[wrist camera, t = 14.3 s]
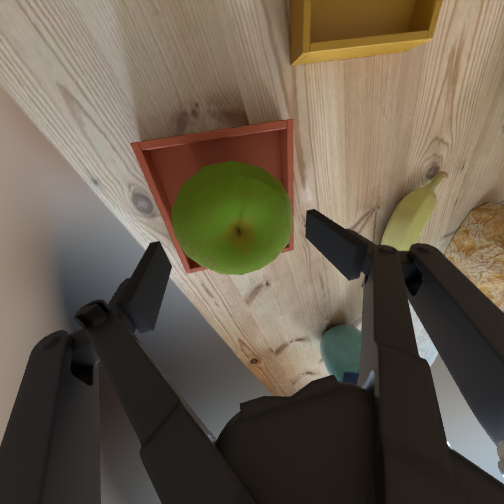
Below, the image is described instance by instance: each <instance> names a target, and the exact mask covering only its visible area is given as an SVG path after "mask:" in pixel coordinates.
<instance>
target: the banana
mask: <svg viewBox="0 0 504 504" xmlns="http://www.w3.org/2000/svg"><path fill="white" fill-rule="evenodd" d="M447 177H448V174H447V173H446V172H441V171H440V172H437V173H436V174H435V175H434V178H433V179H432V181H431V182H430V183H429V184H428V185H426V186H425V187H422V188H419V189H416V190H414V191H412V192H410V193H409V194H408V195H406V196H405V197H404V198H403V199H402V200H401V201H400V202H399V204H398V205H397V207H396V208H395V210H394V212H393V214H392V216H391V218H390V220H389V222H388V224H387V226H386V229H385V231H384V234H383V237H382V241H381V245H388V246H391V247H394V248H395V249H397V250H398V251H409V248H410V246H411V245H412V244H416V243H417V241H418V239H419V237H420V234H421V232H422V230H423V228H424V226H425V224H426V223H427V221H428V219H429V217H430V215H431V213H432V212H433V209H434V207H435V204H436V195H435V193H434V190H435V188H436V186H437V185H438V184H439V183H441V182H442V181H444V180H445V179H446V178H447Z"/></svg>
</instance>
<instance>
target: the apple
mask: <svg viewBox="0 0 504 504" xmlns="http://www.w3.org/2000/svg"><path fill="white" fill-rule="evenodd" d="M171 214H172V221H173V229H174V236H175V237H176V239H177V241H178V242H179V244H180V246H181V247H182V249H183V251H184V253H185V254H186V255H187V256H188V257H190V258H191V259H192V260H194V261H195V262H197V263H198V264H199V265H201V266H202V267H204V268H207V269H210V270H212V271H215V272H218V273H220V274H233V275H243V274H246V273H249V272H252V271H255V270H258V269H261V268H262V267H264V266H265V265H267V264H268V263H270V262H272V261H273V260H275V259H276V258H277V257H278V256H279V255H280V253H281V252H282V251H283V250H284V248H285V247H286V246H287V245H288V243H289V241H290V236H291V231H292V227H293V214H292V203H291V200H290V198H289V196H288V194H287V192H286V190H285V188H284V186H283V184H282V182H281V181H280V180H279V179H277V178H276V177H274V176H273V175H271V174H270V173H268V172H267V171H265V170H264V169H262V168H261V167H258V166H254V165H250V164H245V163H241V162H237V161H227V162H222V163H217V164H212V165H207V166H203V167H202V168H201V169H200V170H199V171H198V172H197V173H196V174H194V175H193V176H192V177H191V178H189V179H188V180H187V181H185V182H184V184H183V185H182V186H181V189H180V191H179V193H178V196H177V198H176V201H175V203H174V205H173V208H172V210H171Z"/></svg>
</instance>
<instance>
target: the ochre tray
mask: <svg viewBox="0 0 504 504" xmlns="http://www.w3.org/2000/svg"><path fill="white" fill-rule="evenodd" d="M442 1H443V0H290V53H291V65H298V64H306V63H315V62H323V61H331V60H340V59H348V58H357V57H365V56H373V55H382V54H390V53H399V52H405V51H407V50H409V49H411V48H414V47H416V46H418V45H420V44H422V43H424V42H426V41H428V40H431V39H432V37H433V33H434V30H435V26H436V23H437V19H438V16H439V12H440V9H441V5H442Z"/></svg>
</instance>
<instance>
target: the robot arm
mask: <svg viewBox="0 0 504 504" xmlns="http://www.w3.org/2000/svg"><path fill="white" fill-rule="evenodd" d="M305 237H306V238H307V239H308V240H309V241H310V242H311V243H312V244H313V245H314V246H315V247H316V248H317V249H318V250H319V251H320V252H321V253H322V254H323V255H324V256H325V257H326V258H327V259H328V260H329V261H330V262H331V263H332V264H333V265H334V266H335V267H336V268H337V269H338V270H339V271H340V272H341V273H342V274H343V275H344V276H345V277H346V278H347V279H348V280H353V279H357V278H359V277H360V273H361V271H362V272H363V273H364V274H365V277H364V280H363V284H362V287H364V289H363V309H362V330H361V350H360V370H359V377H358V382H357V385H354V384H351V383H348V382H342V381H337V379H336V377H335V375H334V374H333V375H330V376H327V377H324V378H321V379H317V380H314V381H312V382H310V383H309V384H307V385H306V386H305V387H303V388H302V389H301V390H299V391H298V392H297V393H295V394H294V395H292V396H290V397H281V396H263V397H260V398H257V399H253V400H250V401H247V402H244V403H240V410H241V411H240V412H239V413H237V414H236V415H235V416H234V417H233V418H232V419H231V420H230V421H229V422H228V423H227V424H226V426H225V427H224V429H223V430H222V432H221V433H220V435H219V437H218V439H217V440H216V438H215V437H214V436H213V435H212V433H211V432H210V431H209V430H208V429H207V427H206V426H205V425H204V424H203V423H202V421H201V420H200V419H199V417H198V416H197V415H196V414H195V412H194V411H193V410H192V409H191V407H190V406H189V405H188V403H187V402H186V401H185V399H184V398H183V397H182V396H181V394H180V393H179V392H178V390H177V389H176V388H175V387H174V385H173V384H172V383H171V382H170V380H169V379H168V378H167V376H166V375H165V374H164V372H163V371H162V370H161V369H160V367H159V366H158V365H157V363H156V362H155V361H154V360H153V358H152V357H151V356H150V354H149V353H148V352H147V351H146V349H145V348H144V347H143V345H142V344H141V343H140V342H139V340H138V339H137V338H136V336H135V335H134V332H135V330H136V329H137V330H138V331H139V332H140V333H141V334H142V333H146V332H150V331H153V330H154V328H155V324H156V321H157V317H158V314H159V310H160V307H161V303H162V300H163V296H164V293H165V289H166V286H167V282H168V279H169V275H170V272H171V268H172V266H171V264H170V261H169V259H168V257H167V255H166V253H165V251H164V249H163V247H162V245H161V243H160V241H157V242H153V243H150V244H149V246H148V248H147V250H146V251H145V253H144V255H143V257H142V259H141V260H140V262H139V264H138V266H137V268H136V269H135V271H134V273H133V275H132V276H131V278H127V279H125V280H124V281H123V282H122V283H121V284H120V286H119V287H118V289H117V291H116V292H115V294H114V296H113V297H112V299H111V300H110V302H109V304H108V305H107V303H106V302H105V301H104V300H95V301H92V302H90V303H88V304H86V305H84V306H83V307H81V308H80V309H79V310H78V311H77V312H76V314H75V315H74V320H75V321H76V322H77V323H79V324H80V325H81V326H82V327H83V329H81V330H78V331H76V332H74V333H72V334H69V333H68V332H66V331H64V330H60V331H56V332H54V333H51V334H50V335H48V336H46V337H44V338H43V339H42V340H41V341H39V343H37V345H36V346H35V347H34V348H33V350H32V352H31V354H30V357H29V361H28V363H27V366H26V370H25V373H24V376H23V379H22V382H21V385H20V388H19V391H18V394H17V397H16V400H15V403H14V407H13V409H12V413H11V416H10V419H9V422H8V424H7V428H6V431H5V434H4V437H3V440H2V443H1V446H0V504H101V494H100V433H99V432H100V431H99V371H98V362H99V361H101V363H102V365H103V367H104V369H105V371H106V373H107V375H108V377H109V379H110V381H111V383H112V385H113V387H114V389H115V391H116V393H117V396H118V398H119V399H120V402H121V404H122V406H123V408H124V409H125V412H126V414H127V416H128V418H129V420H130V422H131V424H132V426H133V428H134V430H135V432H136V434H137V436H138V438H139V440H140V443H141V449H140V456H141V459H142V462H143V464H144V466H145V469H146V471H147V473H148V475H149V477H150V479H151V481H152V484H153V486H154V488H155V490H156V492H157V494H158V496H159V499H160V501H161V503H162V504H504V484H503V483H501V482H500V481H499V480H497V479H496V478H494V477H493V476H491V475H490V474H488V473H487V472H485V471H484V470H482V469H481V468H479V467H478V466H477V465H475V464H474V463H472V462H471V461H469V460H468V459H466V458H465V457H464V456H462V455H461V454H459V453H458V452H456V451H455V450H453V449H452V448H450V447H449V446H448V444H447V440H446V436H445V431H444V427H443V422H442V418H441V414H440V410H439V405H438V401H437V396H436V392H435V387H434V383H433V379H432V374H431V370H430V367H429V364H428V362H427V361H426V359H423V358H420V356H419V354H418V349H417V344H416V339H415V334H414V328H413V323H412V318H411V313H410V308H409V303H408V300H409V302H410V303H411V305H412V307H413V309H414V310H415V312H416V314H417V316H418V317H419V319H420V321H421V323H422V324H423V326H424V328H425V330H426V332H427V333H428V335H429V337H430V339H431V340H432V342H433V344H434V346H435V347H436V349H437V351H438V353H439V354H440V356H441V358H442V360H443V361H444V363H445V365H446V367H447V368H448V370H449V372H450V374H451V375H452V377H453V379H454V381H455V382H456V384H457V386H458V387H459V389H460V391H461V393H462V395H463V396H464V398H465V400H466V402H467V404H468V405H469V407H470V408H471V410H472V412H473V413H474V415H475V416H476V418H477V420H478V421H479V423H480V424H481V425H482V427H483V428H484V430H485V431H486V433H487V434H488V435H489V436H490V438H491V439H492V441H493V442H494V443H495V444H496V446H497V453H498V456H499V458H500V461H499V462H498V468H499V470H500V472H501V474H502V475H503V477H504V313H503V312H502V311H501V310H500V309H499V308H498V307H497V306H496V305H495V304H494V303H493V302H492V301H491V300H490V299H489V298H488V297H487V296H486V295H485V294H484V293H483V292H482V291H481V290H480V289H478V288H477V287H476V286H475V285H474V284H473V283H472V282H471V281H470V280H469V279H468V278H467V277H466V276H465V275H464V274H463V273H462V272H461V271H460V270H459V269H458V268H457V267H456V266H455V265H454V264H453V263H452V262H451V261H450V260H448V259H447V258H446V257H445V256H444V255H443V254H442V253H441V252H440V251H439V250H438V249H437V248H435V247H433V246H431V245H428V244H421V243H416V244H412V245H411V246H410V248H409V251H398V250H397V249H395V248H394V247H391V246H388V245H376V244H374V243H373V242H371V241H369V240H368V239H366V238H365V237H364V238H363V236H361V235H359V234H358V233H357V232H355V231H353V230H350V229H344V228H343V227H341V226H340V225H338V224H337V223H335V222H333V221H332V220H330V219H329V218H327V217H326V216H324V215H323V214H321V213H320V212H318V211H317V210H315V209H312V210H308V211H307V213H306V235H305Z"/></svg>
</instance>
